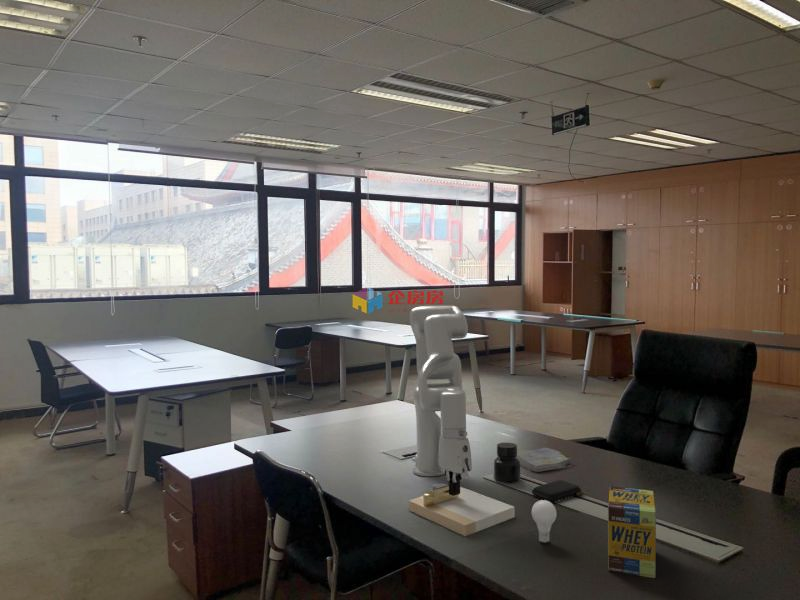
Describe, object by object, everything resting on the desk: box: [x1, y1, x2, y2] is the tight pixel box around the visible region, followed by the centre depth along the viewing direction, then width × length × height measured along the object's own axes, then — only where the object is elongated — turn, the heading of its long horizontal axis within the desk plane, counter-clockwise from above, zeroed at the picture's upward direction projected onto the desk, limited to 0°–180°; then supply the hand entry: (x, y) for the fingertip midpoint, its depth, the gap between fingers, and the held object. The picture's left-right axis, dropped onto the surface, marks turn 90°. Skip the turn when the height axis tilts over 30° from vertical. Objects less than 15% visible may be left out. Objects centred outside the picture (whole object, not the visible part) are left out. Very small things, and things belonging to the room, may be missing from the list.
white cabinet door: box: [407, 482, 516, 537], centre depth 176 cm, size 24×20×6 cm
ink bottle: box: [493, 442, 521, 484], centre depth 205 cm, size 10×9×12 cm
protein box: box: [607, 485, 657, 579], centre depth 145 cm, size 10×15×16 cm
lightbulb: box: [531, 499, 558, 544], centre depth 156 cm, size 6×6×11 cm
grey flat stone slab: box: [516, 447, 573, 473], centre depth 223 cm, size 20×5×17 cm
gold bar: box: [422, 485, 459, 506], centre depth 178 cm, size 13×3×3 cm, turn 128°
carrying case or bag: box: [531, 479, 582, 503], centre depth 190 cm, size 11×3×15 cm
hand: (454, 494), depth 178 cm, fingers closed
